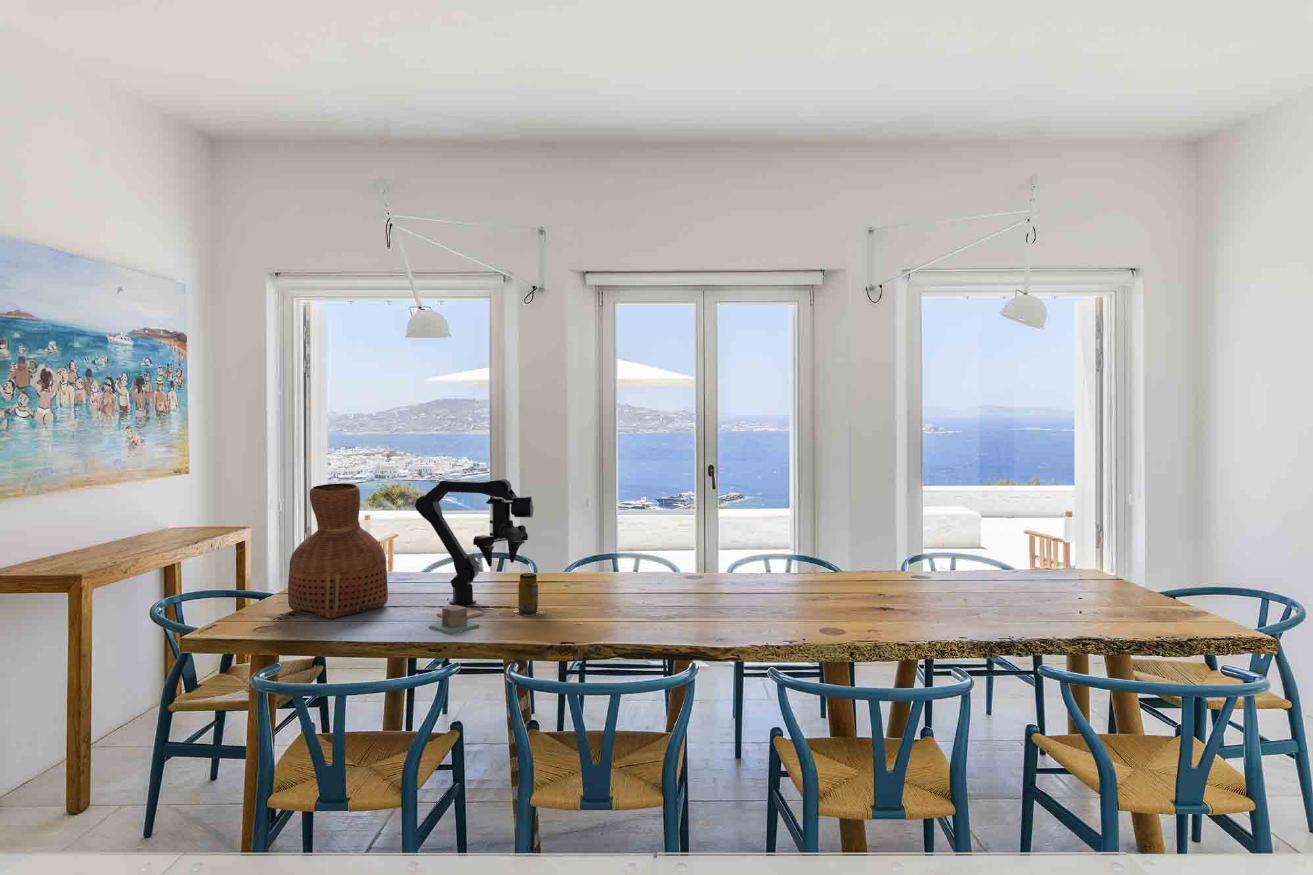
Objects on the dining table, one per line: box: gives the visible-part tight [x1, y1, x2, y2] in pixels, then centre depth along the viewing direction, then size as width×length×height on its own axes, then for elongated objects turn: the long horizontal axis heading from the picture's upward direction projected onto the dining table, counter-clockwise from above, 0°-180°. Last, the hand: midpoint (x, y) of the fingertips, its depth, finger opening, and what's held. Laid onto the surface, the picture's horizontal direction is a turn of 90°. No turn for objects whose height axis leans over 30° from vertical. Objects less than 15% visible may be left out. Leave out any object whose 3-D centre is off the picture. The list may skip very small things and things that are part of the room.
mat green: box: [429, 620, 480, 635], centre depth 222 cm, size 10×10×1 cm
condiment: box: [512, 572, 546, 617], centre depth 240 cm, size 7×8×12 cm
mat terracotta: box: [435, 607, 484, 619], centre depth 237 cm, size 10×10×1 cm
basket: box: [287, 482, 389, 619], centre depth 244 cm, size 28×28×40 cm
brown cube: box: [441, 605, 468, 628], centre depth 222 cm, size 5×5×5 cm
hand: (501, 564), depth 252 cm, fingers open, 9 cm apart
